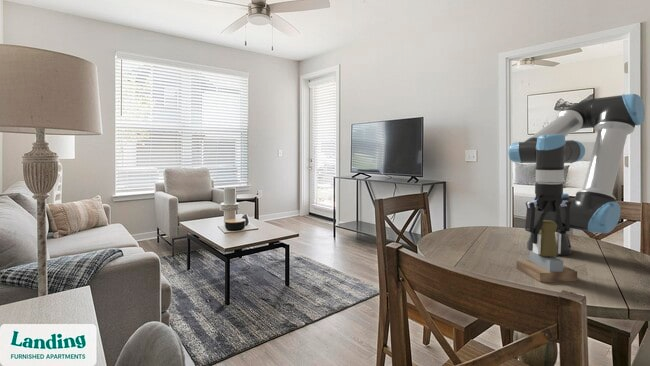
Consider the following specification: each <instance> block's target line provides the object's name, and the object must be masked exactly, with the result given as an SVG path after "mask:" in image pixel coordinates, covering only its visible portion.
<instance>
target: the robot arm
mask: <svg viewBox="0 0 650 366" xmlns="http://www.w3.org/2000/svg"><path fill="white" fill-rule="evenodd" d="M645 112H646V110H645V105H644V100H642V98H641V96H640V95H639V94H636V93H629V94H628V93H627V94H625V93H623V94H622V95H613V96H604V97H595V98H588V99H585V100H582V101H579V102H577V103H575V104H573V105H571V106H568V107H567V108H565V109H564V110H562V111H560V112H559V114H557V116H556V117H555V119H554V120H552V121H551V122H550V123H548V124H547V125H546V126H544V127H543V128H541V129H539V131H537V132H536V133H535V134H532V136H530V137H529V138H527V139H526V140H525V141H518V142H517V141H516V142H513V143H511V144H510V145H509V148H508V151H507V153H508V158H509V160H510V161H511V162H513V163H522V164H524V163H533V164H534V163H535V182H536V183H535V185H534V194H535V196H534V197H533V200H532V201H531V200H530V201H526V202H525V207H526V214H525V215H526V216H525V227H524V230H525V231H526V232H527V233H530V235H529V237H528V240H527V242H526V249H528V250H529V251H533V252H534V253H536V254H540V251H541V234H539V232H540V228H541V225H542V222H543V220H550V221H554V222H556V224H557V230H556V231H555V237H556V245H557V254H558V255H557V256H569V255H571V254H572V251H573V250H572V249H573V247H572V244H571V240H570V239H569V236H568V232H569V231H571V229H572V230H577V231H584V232H590V233H592V234H594V233H596V234H597V233H598V234H609V233H611V232H612V231H613V230H614V229H615V228H616V227H617V225H618V223H619V221H620V218H621V211H622V210H621V209H622V208H621V206H620V203H618V202H616V201H617V198H616V197H615V196H614V195H613V191H614V188H615V183H616V180H617V177H618V176H617V175H618V172H619V169H620V168H619V167H620V164H621V160H622V156H623V153H624V149H625V144H626V140H627V138H628V137H627V136H628V135H630V134H632V133H633V132H634V131H635V127H636V126H640V125H643V124H644V122H645V119H646V113H645ZM592 128H593V129H594V131H595V132H596V138H595V141H594V145H593V149H592V154H591V157H590V160H589V164H588V168H587V171H586V175H585V179H584V182H583V187H582V189H580V190H579V191H577V192H576V193H575V197H573V198H572V197H570V195H569V194H568V193H566V192H565V193H564V184H563V182H564V181H565V180H564V179H565V164H573V163H577V162H579V161H581V160H582V159H583V158H584V156H585V155H586V148H585V146H584V144H583V143H582V142H580V141H577V140H573V139H569V140H566V137H567V136H568V135H569V134H571V133H575V132H577V131H579V130H581V129H592Z"/></svg>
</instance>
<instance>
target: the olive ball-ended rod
mask: <svg viewBox="0 0 650 366" xmlns="http://www.w3.org/2000/svg"><path fill="white" fill-rule="evenodd" d="M556 230H557V224H556V222H554V221H550V220H543V222H542V225H541V228H540V232H539V234H541V251H540V254H539V255H543V256H554V257H557V256H559V255H558V254H557V245H556V237H555V231H556Z"/></svg>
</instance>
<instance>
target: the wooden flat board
mask: <svg viewBox="0 0 650 366" xmlns="http://www.w3.org/2000/svg"><path fill="white" fill-rule="evenodd" d="M515 263H516V265H515V267H516V270H518V271H520V272H521V273H523V274H525V275H526V276H528V277H530V278H531V279H534V280H535V281H537V282H538V283H550V282H551V283H553V282H554V283H555V282H556V283H557V282H575V281H576V282H577V281H578V271H577V270H575V269H572V268H570V267H569V266H566V265H564V264H563V272H549V271H547V270H545V269H544V268H542V267H540V266H538V265H537V264H535V263H533V262H531V261H530V259H529V260H528V259H527V260H525V259H523V260H516V261H515Z"/></svg>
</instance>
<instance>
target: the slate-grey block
mask: <svg viewBox="0 0 650 366" xmlns="http://www.w3.org/2000/svg"><path fill="white" fill-rule="evenodd" d="M529 260H530V261H531V262H533V263H535V264H537V265H538V266H540V267H542V268H544V269H545V270H547V271H549V272H563V265H564V261H563V260H562V259H560V258H558V257H557V256H543V255H539V254H536V253H534V252H533V251H531V250H529Z"/></svg>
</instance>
